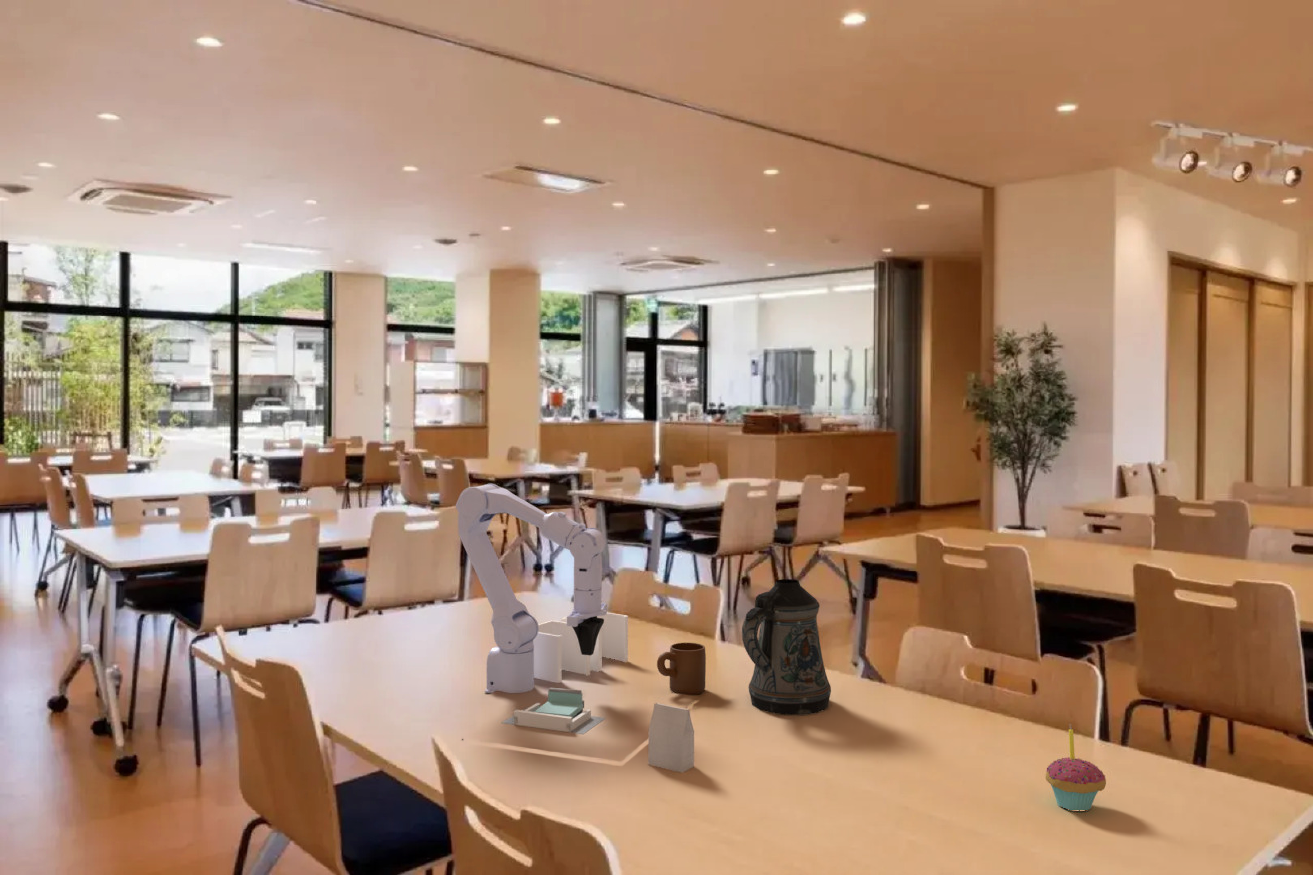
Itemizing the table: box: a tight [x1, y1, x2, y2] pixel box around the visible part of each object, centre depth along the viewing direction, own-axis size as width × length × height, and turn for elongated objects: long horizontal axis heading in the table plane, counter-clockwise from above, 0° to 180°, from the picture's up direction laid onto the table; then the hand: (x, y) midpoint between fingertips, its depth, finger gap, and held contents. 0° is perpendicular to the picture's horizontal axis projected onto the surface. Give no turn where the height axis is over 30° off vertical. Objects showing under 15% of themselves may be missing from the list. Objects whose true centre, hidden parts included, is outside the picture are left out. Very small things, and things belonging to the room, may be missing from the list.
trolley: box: [534, 687, 585, 718], centre depth 194 cm, size 7×8×5 cm
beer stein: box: [741, 578, 832, 716], centre depth 205 cm, size 16×19×25 cm
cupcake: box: [1045, 723, 1107, 811], centre depth 155 cm, size 9×8×12 cm
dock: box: [501, 702, 606, 735], centre depth 193 cm, size 17×10×3 cm, turn 69°
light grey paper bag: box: [647, 702, 695, 773], centre depth 172 cm, size 4×7×10 cm, turn 56°
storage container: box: [533, 612, 629, 684], centre depth 231 cm, size 25×11×11 cm, turn 145°
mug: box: [656, 642, 707, 696], centre depth 213 cm, size 12×8×9 cm, turn 130°
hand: (587, 654), depth 209 cm, fingers closed
